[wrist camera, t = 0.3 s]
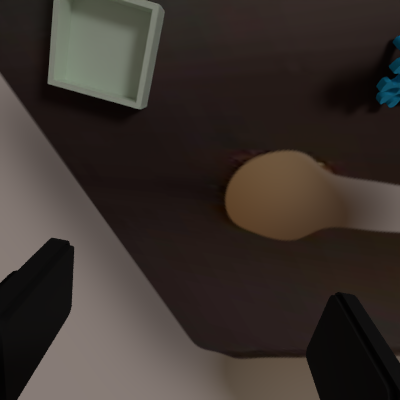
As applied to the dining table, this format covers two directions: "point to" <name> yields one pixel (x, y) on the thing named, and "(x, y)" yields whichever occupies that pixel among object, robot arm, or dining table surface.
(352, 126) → the dining table surface
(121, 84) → the bin
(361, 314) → the robot arm
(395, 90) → the blue plastic angled piece
